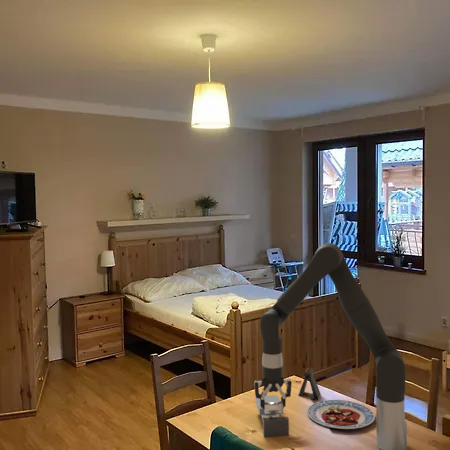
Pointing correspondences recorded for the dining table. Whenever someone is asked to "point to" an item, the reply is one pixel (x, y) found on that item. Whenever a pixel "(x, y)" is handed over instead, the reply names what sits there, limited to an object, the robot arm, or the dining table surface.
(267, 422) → the bar
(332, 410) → the ceramic plate
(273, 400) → the slab
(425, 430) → the dining table surface
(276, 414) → the roller middle
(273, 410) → the roller
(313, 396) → the grey a-frame stand
